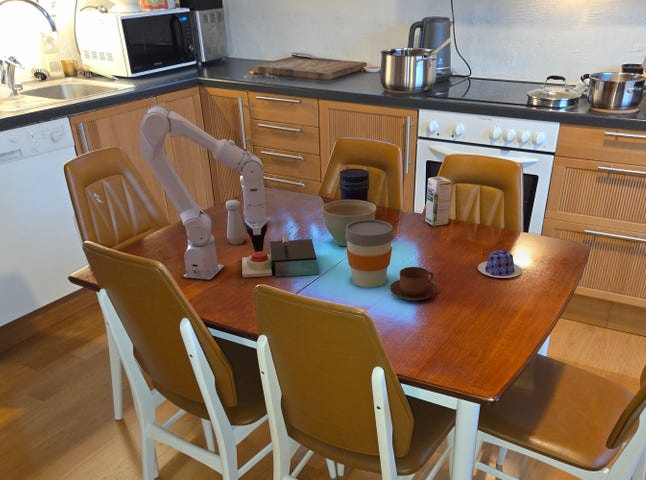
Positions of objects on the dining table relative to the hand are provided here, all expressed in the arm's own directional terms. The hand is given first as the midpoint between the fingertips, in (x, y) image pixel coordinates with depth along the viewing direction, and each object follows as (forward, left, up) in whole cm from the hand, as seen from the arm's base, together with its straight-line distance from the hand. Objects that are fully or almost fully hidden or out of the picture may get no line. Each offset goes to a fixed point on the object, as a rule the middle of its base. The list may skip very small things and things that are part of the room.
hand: (258, 250), depth 179 cm
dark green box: (+4, -9, -5) cm, 11 cm away
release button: (0, 0, -3) cm, 3 cm away
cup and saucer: (-8, -45, -5) cm, 46 cm away
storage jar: (+48, -16, -5) cm, 51 cm away
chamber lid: (+4, -9, -1) cm, 9 cm away
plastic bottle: (+34, +15, -5) cm, 38 cm away
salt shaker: (+17, +14, -5) cm, 23 cm away
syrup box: (+48, -44, -5) cm, 65 cm away
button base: (0, +1, -5) cm, 5 cm away
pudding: (+12, -66, -5) cm, 67 cm away
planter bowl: (+25, -20, -5) cm, 33 cm away
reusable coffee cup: (-2, -32, -5) cm, 32 cm away
